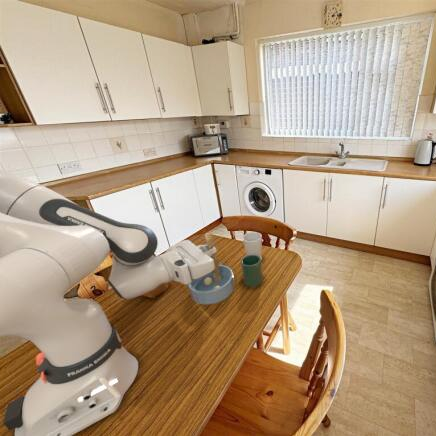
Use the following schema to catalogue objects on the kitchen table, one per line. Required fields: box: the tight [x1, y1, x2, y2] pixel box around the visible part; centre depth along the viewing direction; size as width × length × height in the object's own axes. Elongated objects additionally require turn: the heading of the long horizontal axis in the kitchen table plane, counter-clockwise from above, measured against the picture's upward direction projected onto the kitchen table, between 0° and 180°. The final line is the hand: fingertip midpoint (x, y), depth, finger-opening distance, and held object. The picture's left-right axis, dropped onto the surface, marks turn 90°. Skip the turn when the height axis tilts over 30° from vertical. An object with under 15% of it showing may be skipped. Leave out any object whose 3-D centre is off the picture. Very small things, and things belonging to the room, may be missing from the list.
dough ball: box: [204, 277, 212, 286], centre depth 89 cm, size 3×3×3 cm
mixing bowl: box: [187, 264, 236, 306], centre depth 86 cm, size 15×15×6 cm
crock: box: [240, 255, 264, 288], centre depth 89 cm, size 7×7×10 cm
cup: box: [242, 231, 263, 261], centre depth 102 cm, size 8×8×12 cm
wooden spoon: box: [204, 231, 221, 282], centre depth 85 cm, size 2×2×20 cm
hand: (213, 247), depth 84 cm, fingers closed on wooden spoon, 2 cm apart
